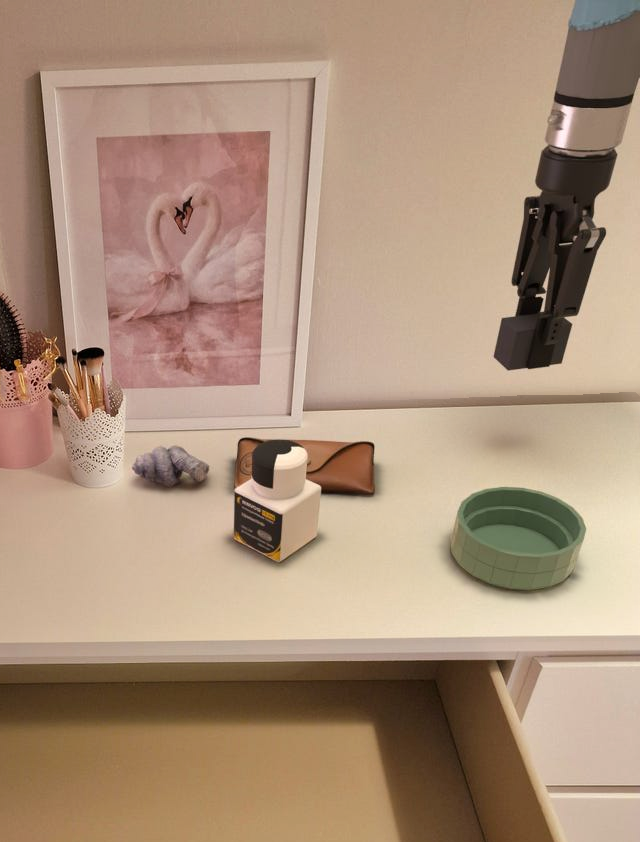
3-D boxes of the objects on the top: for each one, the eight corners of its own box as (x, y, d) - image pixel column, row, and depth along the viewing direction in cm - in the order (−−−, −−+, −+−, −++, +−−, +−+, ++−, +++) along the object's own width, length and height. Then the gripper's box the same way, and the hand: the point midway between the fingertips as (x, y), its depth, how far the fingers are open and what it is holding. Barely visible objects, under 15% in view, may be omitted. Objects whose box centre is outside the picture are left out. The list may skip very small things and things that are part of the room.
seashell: (210, 485, 114) (134, 491, 114) (207, 444, 114) (131, 450, 114) (211, 481, 109) (132, 487, 109) (208, 438, 108) (128, 444, 108)
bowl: (538, 516, 104) (549, 480, 100) (595, 584, 94) (609, 547, 91) (432, 530, 102) (439, 494, 99) (479, 600, 93) (489, 563, 89)
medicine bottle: (232, 539, 103) (233, 450, 95) (271, 514, 106) (276, 425, 98) (278, 564, 99) (284, 473, 91) (317, 537, 103) (326, 447, 94)
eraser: (545, 350, 109) (556, 310, 106) (561, 363, 106) (572, 323, 103) (493, 357, 109) (501, 317, 105) (507, 370, 106) (516, 330, 102)
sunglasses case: (233, 490, 110) (235, 436, 108) (235, 488, 116) (237, 437, 115) (378, 494, 108) (382, 439, 106) (371, 492, 114) (375, 440, 113)
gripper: (509, 131, 97) (469, 334, 113) (590, 172, 85) (532, 393, 101) (572, 125, 98) (524, 327, 114) (661, 164, 86) (593, 385, 102)
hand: (528, 358), depth 107 cm, fingers closed on eraser, 4 cm apart
